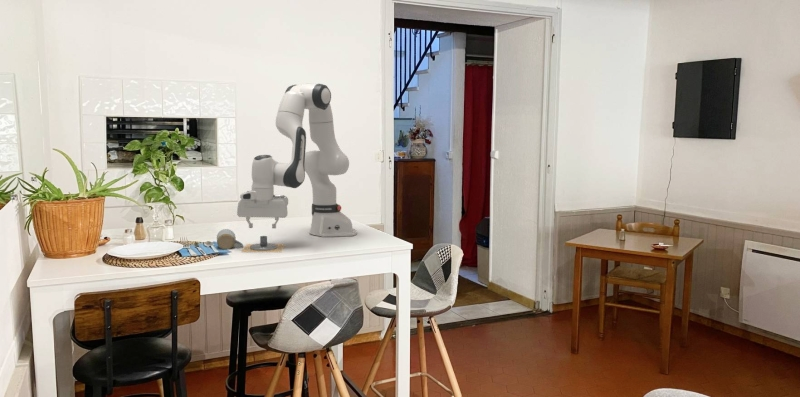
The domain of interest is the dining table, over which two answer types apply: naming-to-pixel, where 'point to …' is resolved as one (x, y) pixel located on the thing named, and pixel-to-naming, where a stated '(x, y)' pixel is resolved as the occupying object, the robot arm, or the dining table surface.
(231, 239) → the ceramic mug
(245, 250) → the mat
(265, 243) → the lid
